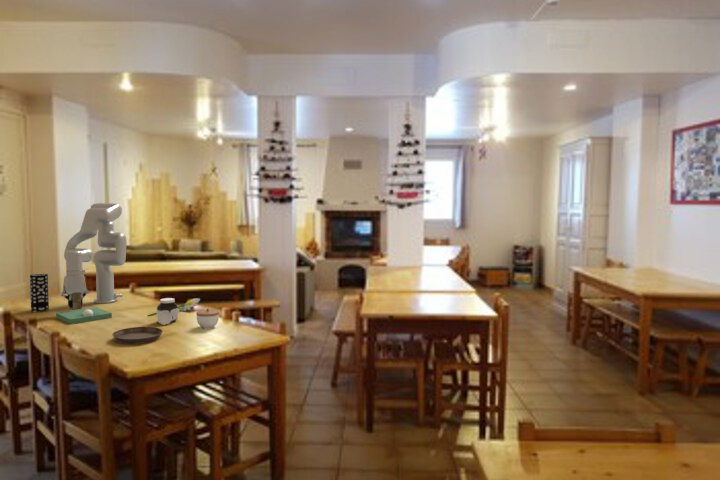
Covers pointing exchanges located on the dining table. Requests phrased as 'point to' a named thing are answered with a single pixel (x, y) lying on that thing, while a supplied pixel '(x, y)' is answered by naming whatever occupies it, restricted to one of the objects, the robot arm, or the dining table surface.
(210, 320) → the lidded jar
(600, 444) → the dining table surface
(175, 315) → the spread jar
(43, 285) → the spotted tube
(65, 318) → the putting mat
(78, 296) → the brown block
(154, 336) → the plant saucer
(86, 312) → the ball
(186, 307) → the decorative flower
